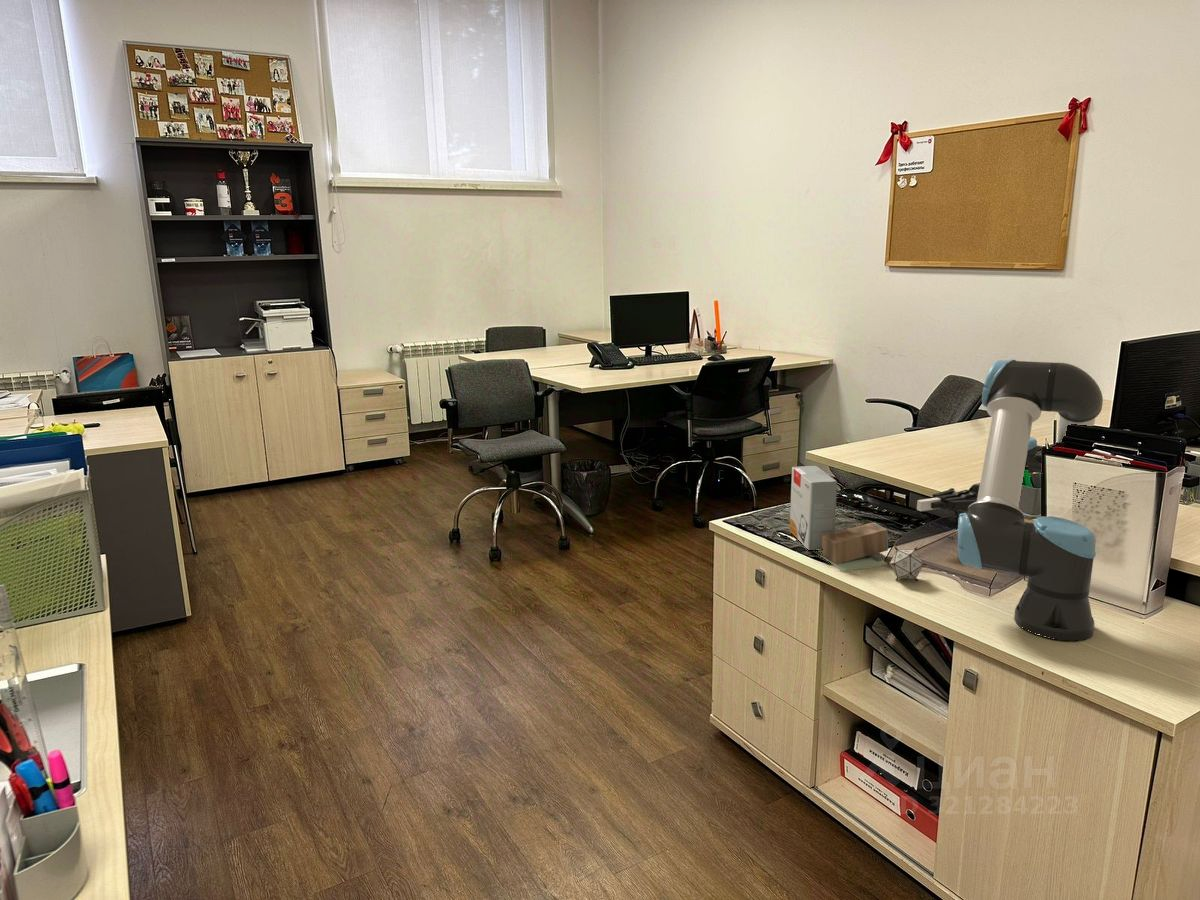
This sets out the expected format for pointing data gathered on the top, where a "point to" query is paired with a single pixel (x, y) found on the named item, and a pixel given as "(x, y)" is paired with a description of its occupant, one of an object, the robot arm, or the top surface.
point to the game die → (906, 564)
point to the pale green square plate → (859, 563)
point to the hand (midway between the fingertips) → (919, 505)
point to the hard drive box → (812, 505)
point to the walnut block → (855, 543)
